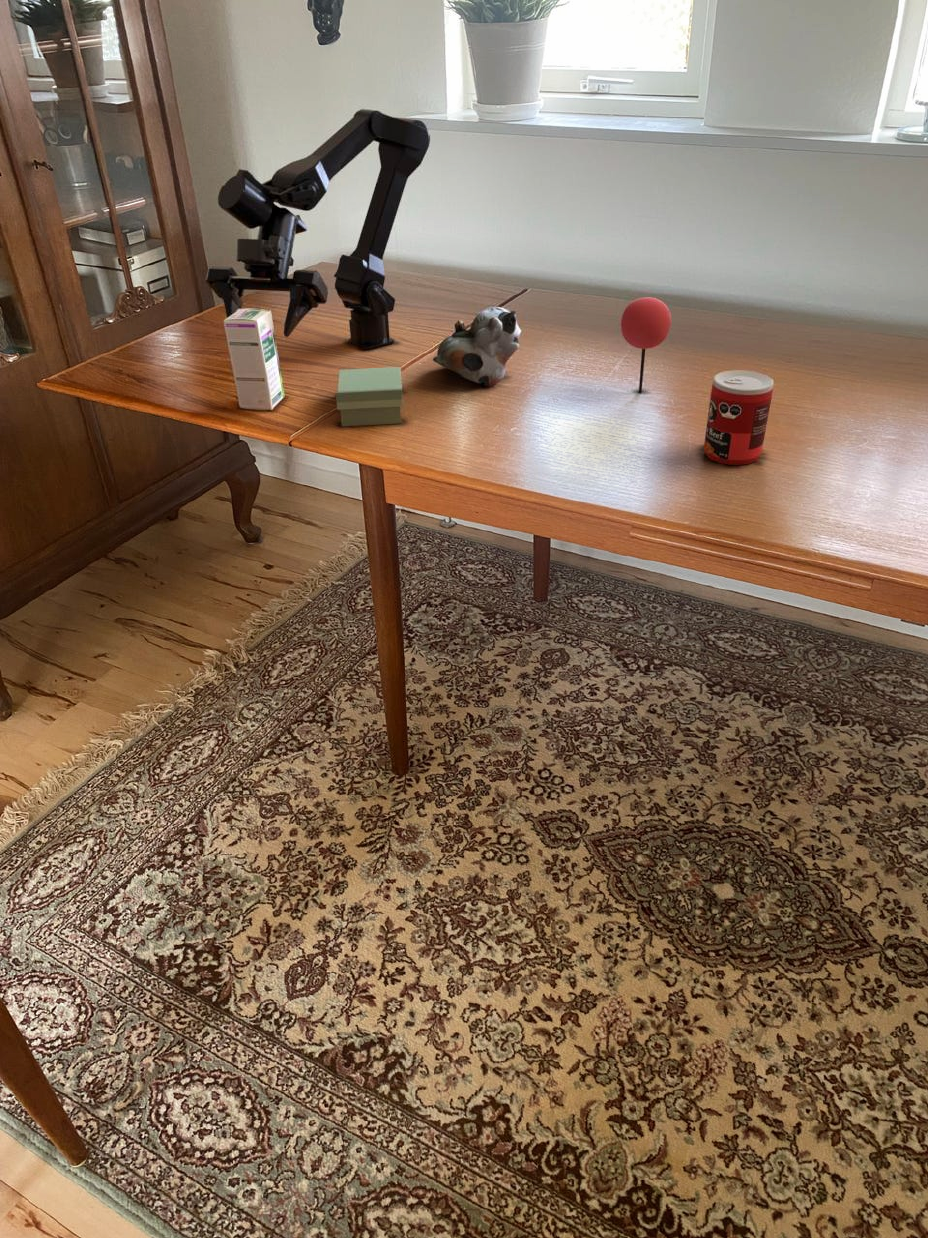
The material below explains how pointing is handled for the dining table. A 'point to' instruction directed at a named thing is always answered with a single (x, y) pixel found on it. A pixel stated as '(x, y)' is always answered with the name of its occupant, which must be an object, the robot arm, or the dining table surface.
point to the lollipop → (645, 325)
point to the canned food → (737, 416)
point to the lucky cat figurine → (481, 346)
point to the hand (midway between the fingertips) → (258, 334)
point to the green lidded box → (369, 396)
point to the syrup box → (254, 358)
